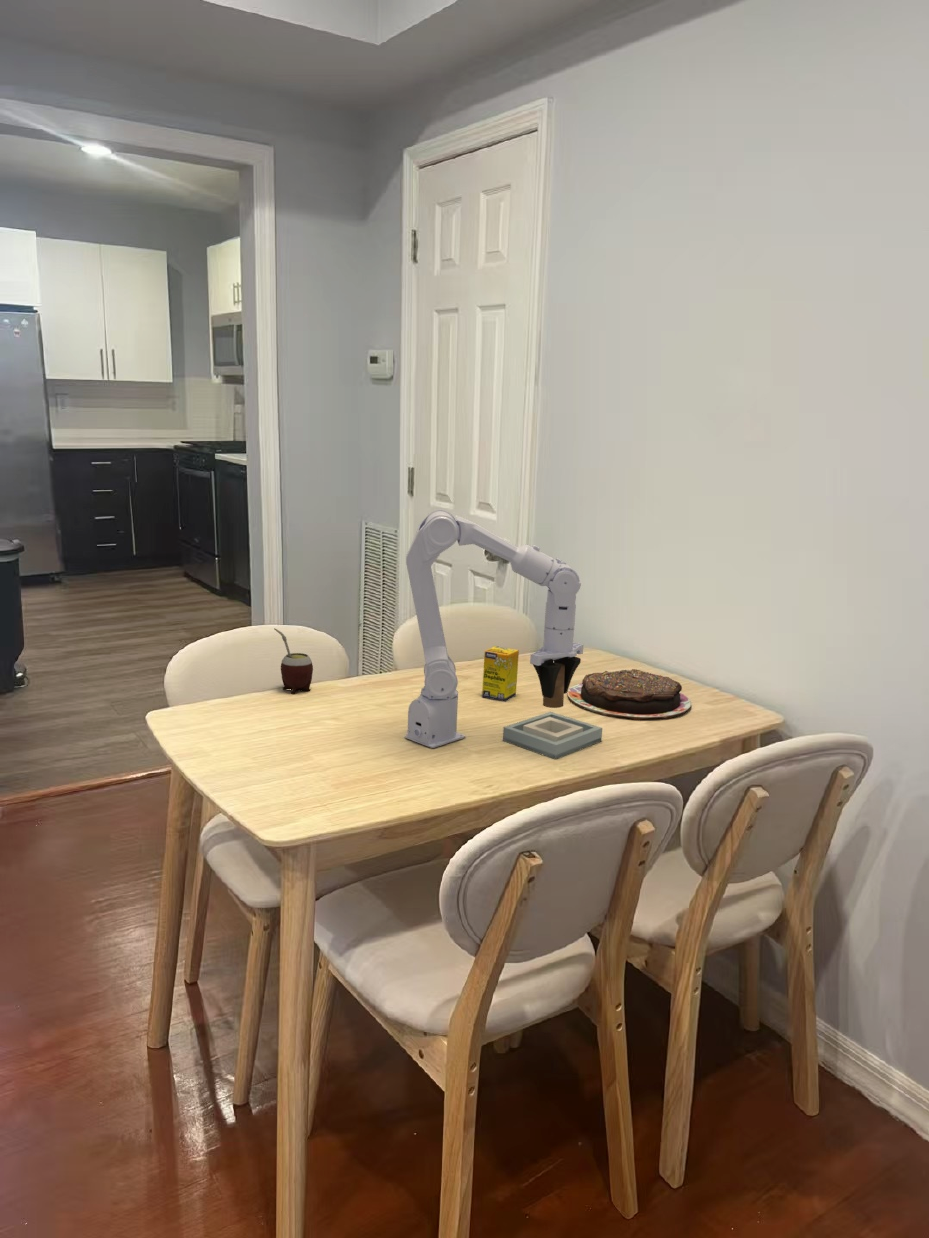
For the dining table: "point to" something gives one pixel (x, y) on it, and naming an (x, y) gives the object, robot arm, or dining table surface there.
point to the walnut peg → (557, 691)
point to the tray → (548, 747)
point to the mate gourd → (296, 670)
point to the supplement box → (500, 673)
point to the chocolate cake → (630, 695)
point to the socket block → (552, 729)
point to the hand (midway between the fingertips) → (554, 694)
